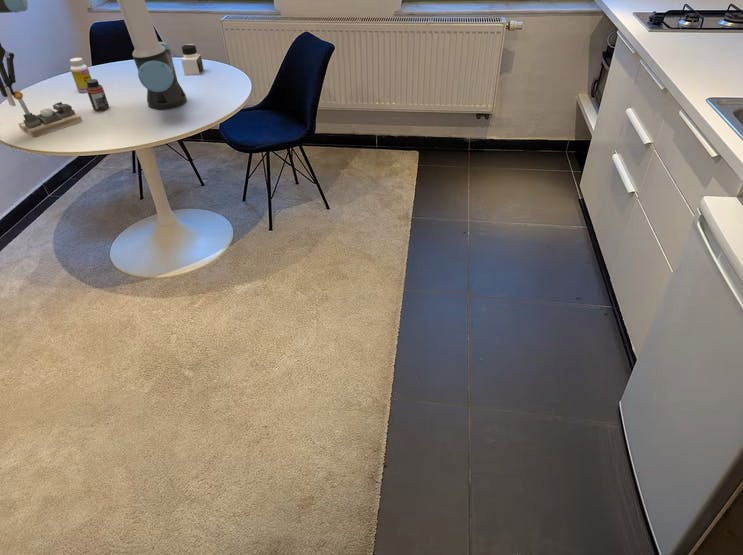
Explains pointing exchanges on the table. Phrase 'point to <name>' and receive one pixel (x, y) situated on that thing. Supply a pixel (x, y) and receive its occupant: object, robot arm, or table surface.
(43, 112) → the button
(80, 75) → the supplement bottle
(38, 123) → the panel
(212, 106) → the table surface
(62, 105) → the rocker
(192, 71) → the medicine bottle
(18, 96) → the lever
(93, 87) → the supplement bottle
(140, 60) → the robot arm
